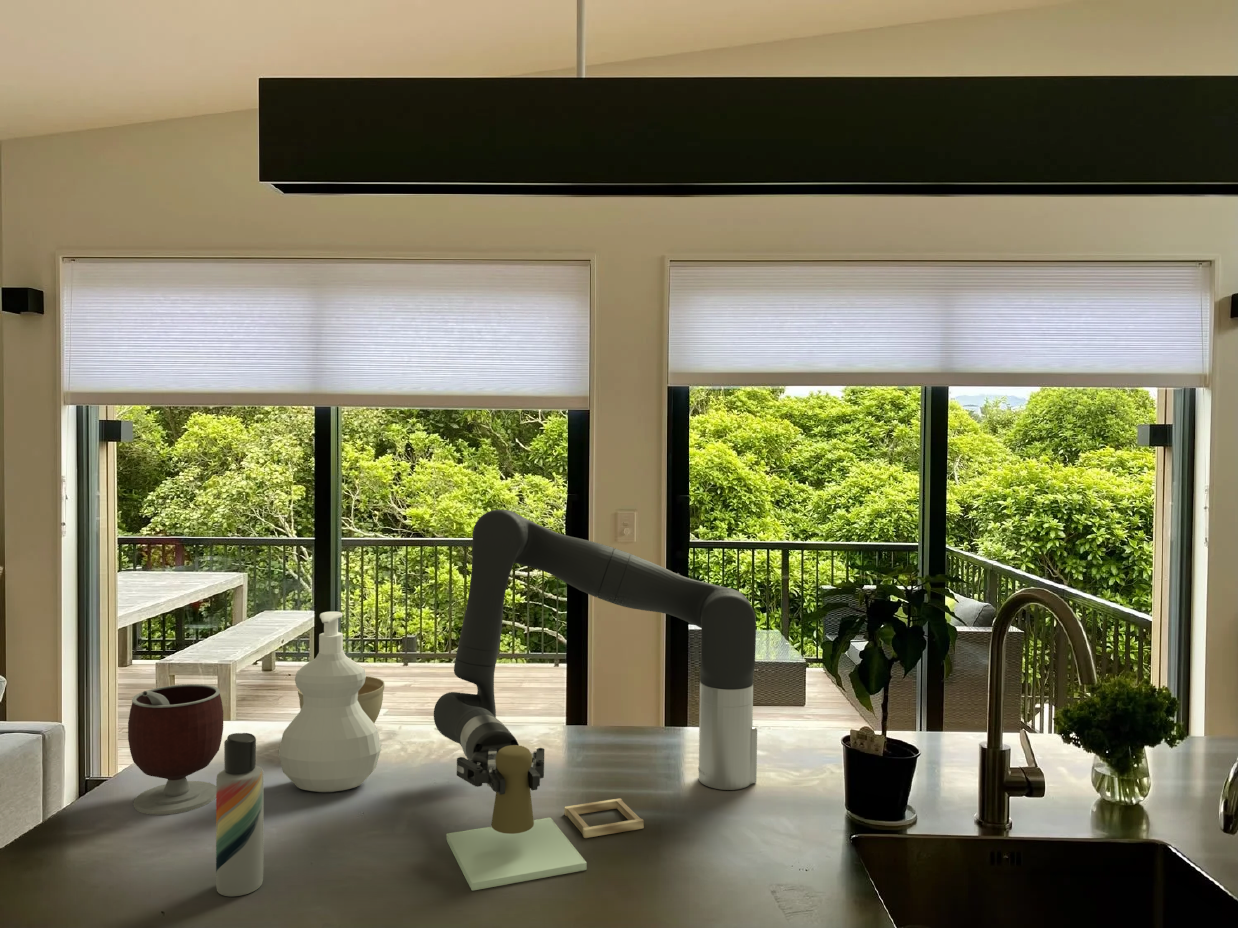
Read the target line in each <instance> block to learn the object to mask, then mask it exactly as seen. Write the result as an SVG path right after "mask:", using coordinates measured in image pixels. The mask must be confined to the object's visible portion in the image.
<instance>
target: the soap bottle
mask: <svg viewBox="0 0 1238 928" xmlns="http://www.w3.org/2000/svg"><path fill="white" fill-rule="evenodd" d="M342 617H343V612H341V611H324V612H321V613H320V614H319V619H320V620H321V623H322V624H323V632H322V633H319V635H318V653H317V655H316V657H315V658H314V659H312V660H310V661H308V662H307V663H306V664H304V665H303V666H302V667H301V668H299V669H298V670H297V671H296V673H295V678H294V681H295V687H296V688H297V690H298V689H299V690H300V691H301V693H302V694H303V702H304V704H303V706H302V708H301V709H300V711H299V712H298V713H297V715H295V717H294V718H293V719H292V720H291V722H290V723H289V724H288V726H287V727H286V728H285V729H284V731H283V733H282V737H281V738H280V739H281V740H280V744H279V748H278V758H279V762H280V765H281V768H282V769H281V770H282V772H283V774H284V775H285V776H286V777H287V778H289V780H290V781H291V782H292V783H293V784H294V785H295V786H296V787H297V788H298V789H301V790H304V791H310V792H317V793H335V792H341V791H346V790H350V789H354V788H357V787H359V786H362V784H363V783H364V782H365V781H366V780H367V778H368V777H369V776H370V775H371V774H373V772H374V771H375V769H376V768H377V765H378V762H379V757H380V754H381V750H382V743H381V738H380V734H379V730H378V729H379V728H378V727H377V725H376V724H375V723H373V722H372V721H371V719H370V718H369V717H368V716H367V714H366V713H365V712H364V711H363V710H362V708H361V706H360V704H359V702H358V700H357V698H358V691H359V690H360V689H361V687H362V686H363V685H364V683H365V679H366V676H367V674H366V673H367V672H366V669H365V668H364V667H363V666H361V665H360V664H359V663H357V662H356V661H355V660H354V659H351V658H349V657H348V656H347V655H346V654H345V651H344V633H343V632H340V631H339V618H342Z"/></svg>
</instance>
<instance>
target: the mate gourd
mask: <svg viewBox="0 0 1238 928" xmlns="http://www.w3.org/2000/svg"><path fill="white" fill-rule="evenodd" d="M220 690H221V689H220V688H219V687H217V686H215V685H210V684H199V683H195V684H194V683H187V684H186V683H185V684H172V685H167V686H160V687H156V688H151V689H147V690H144V691H141V692H139V693H137V694H136V695H134V696H133V697H132V698H131V702H132V703H131V706H130V710H129V716H128V720H127V721H128V723H127V740H128V745H129V746H128V747H129V752H130V755H131V758H132V761H133V763H134V764H135V766H137V768H138V769H140V771H141V772H142V773H143V774H145V775H147V776H149V777H155V778H161V779H164V780H166V783H165V784H161V785H158V786H155V787H152V788H149V789H147V790H144V791H143V792H141V793H140V794H138V795H137V796H136V797H135V798H134V800H133V807H134V810H136V811H137V812H139V813H141V814H145V815H146V814H147V815H153V816H154V815H157V816H158V815H159V816H160V815H172V814H173V815H174V814H179V813H184V812H189V811H193V810H197V809H200V808H202V807H204V806H207V805H208V804H211V803H212V802H214V801H215V799H216V784H214V783H211V782H207V781H200V780H189V781H188V779H187V777H188V776H190V775H192V774H194V773H198V772H199V771H201V770H203V769H205V768H206V767H208V766H209V765H210V763H211V762H212V761H213V759H214V758H215V756H216V755H217V754H218V752H219V751H220V748H221V743H222V740H223V732H224V708H223V702H222V698H221V691H220Z"/></svg>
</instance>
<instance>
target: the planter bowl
mask: <svg viewBox="0 0 1238 928" xmlns="http://www.w3.org/2000/svg"><path fill="white" fill-rule="evenodd" d="M384 691H385V682H384V680H383V679H381V678H378V677H375V676H369V675H366V679H365V683H364V685H363V686H362V687H361V689H360V690H359V691H358V698H357V700H358V702H359V704H360V706H361V708H362V710H363V711H364V712H365V713H366V714H367V716H368V717H369V718H370V719H371V721H372V722H373V723H374V724H375V723H376V721H377V720H378V717H379V715H380V712H381V709H382V706H383V700H384ZM297 694H298V699H299V709H300V710H301V708H302V706H303V704H304V702H303V694H302V693H301V691H300V690H299V689H298V688H297Z"/></svg>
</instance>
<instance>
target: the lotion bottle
mask: <svg viewBox="0 0 1238 928" xmlns="http://www.w3.org/2000/svg"><path fill="white" fill-rule="evenodd" d="M256 737H257V736H255V735H254V734H252V733H248V732H238V733H236V732H235V733H231V734H228V736H227V738H226V739H225V740H224V742H223V743H224V745H223V746H224V747H223V748H224V751H223V752H224V754H223V755H224V756H223V757H224V762H223V763H224V765H223V766H224V769H223V770H221V771H219V772H218V773H217V775H216V782H215V783H216V784H215V786H216V798H215V799H216V800H215V801H216V802H215V805H216V806H215V808H216V809H215V812H216V814H215V819H216V820H215V823H216V824H215V829H216V830H215V832H216V833H215V840H216V841H215V842H216V843H215V847H216V849H215V886H216V891H217V892H218V894H220V895H221V896H224V897H241V896H245V895H247V894H251V893H253V892H255V891H257V890H258V889H259V888H260V887H261V886H262V884H263V880H264V770H263V768H262V767H261V766H258V765H257V763H256V762H257V738H256Z"/></svg>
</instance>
